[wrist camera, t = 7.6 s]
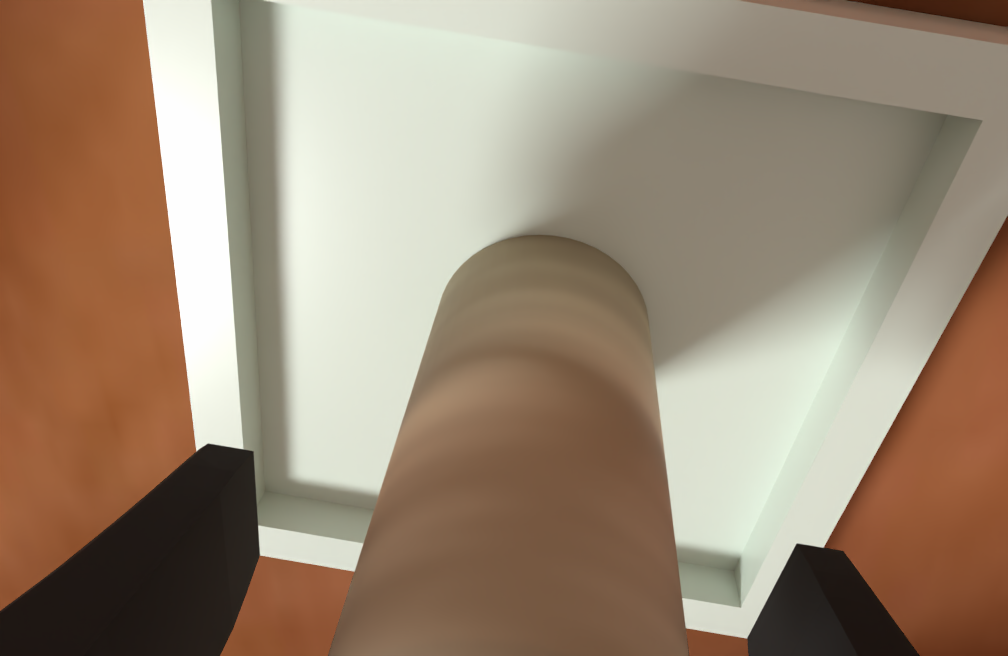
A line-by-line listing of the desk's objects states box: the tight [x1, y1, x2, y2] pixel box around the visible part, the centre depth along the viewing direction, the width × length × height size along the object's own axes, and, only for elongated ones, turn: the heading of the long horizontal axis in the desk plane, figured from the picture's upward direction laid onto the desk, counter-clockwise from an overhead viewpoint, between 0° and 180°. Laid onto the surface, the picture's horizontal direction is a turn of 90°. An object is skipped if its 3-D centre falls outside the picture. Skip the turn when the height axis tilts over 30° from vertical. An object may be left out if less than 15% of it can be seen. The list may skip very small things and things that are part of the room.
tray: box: [143, 0, 1008, 638], centre depth 14 cm, size 13×13×2 cm
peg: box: [328, 235, 689, 656], centre depth 11 cm, size 4×4×8 cm
